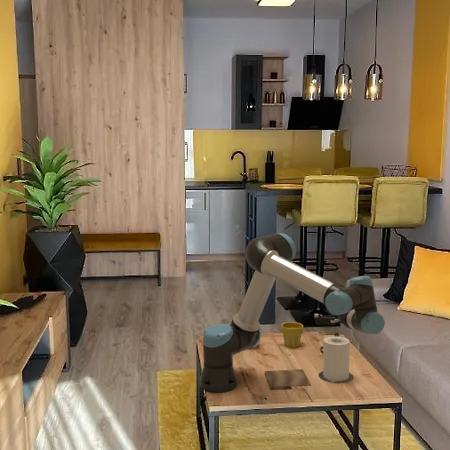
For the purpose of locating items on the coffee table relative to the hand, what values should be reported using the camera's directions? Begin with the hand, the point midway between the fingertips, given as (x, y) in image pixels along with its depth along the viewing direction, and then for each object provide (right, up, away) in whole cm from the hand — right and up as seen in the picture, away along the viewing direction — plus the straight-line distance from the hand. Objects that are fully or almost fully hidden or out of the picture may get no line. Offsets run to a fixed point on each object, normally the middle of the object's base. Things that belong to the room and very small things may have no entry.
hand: (331, 313), depth 231 cm
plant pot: (-10, -22, +48) cm, 54 cm away
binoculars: (+5, -25, +31) cm, 40 cm away
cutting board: (-17, -28, +7) cm, 33 cm away
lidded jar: (-30, -23, +47) cm, 61 cm away
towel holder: (+3, -28, +8) cm, 29 cm away
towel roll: (+3, -27, +8) cm, 28 cm away
